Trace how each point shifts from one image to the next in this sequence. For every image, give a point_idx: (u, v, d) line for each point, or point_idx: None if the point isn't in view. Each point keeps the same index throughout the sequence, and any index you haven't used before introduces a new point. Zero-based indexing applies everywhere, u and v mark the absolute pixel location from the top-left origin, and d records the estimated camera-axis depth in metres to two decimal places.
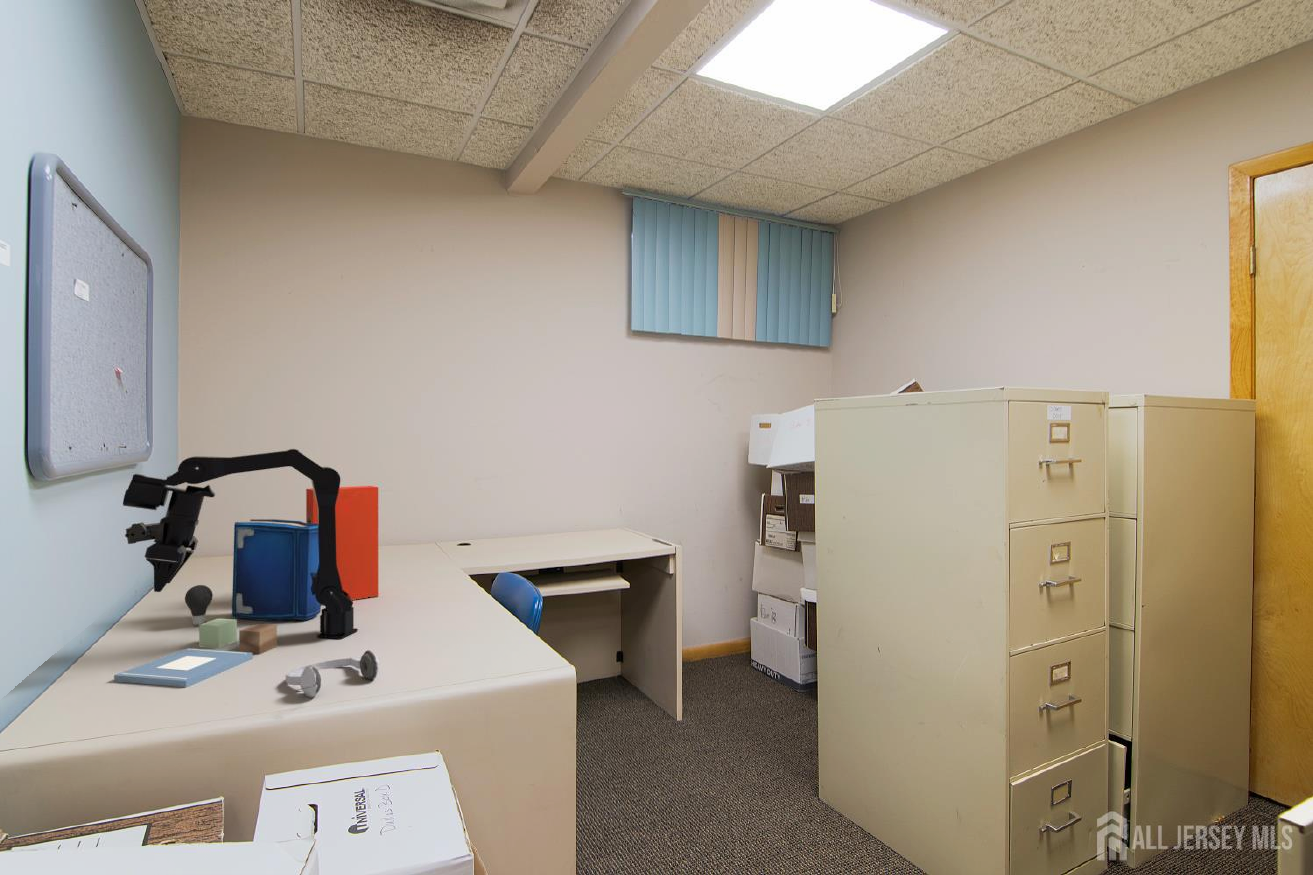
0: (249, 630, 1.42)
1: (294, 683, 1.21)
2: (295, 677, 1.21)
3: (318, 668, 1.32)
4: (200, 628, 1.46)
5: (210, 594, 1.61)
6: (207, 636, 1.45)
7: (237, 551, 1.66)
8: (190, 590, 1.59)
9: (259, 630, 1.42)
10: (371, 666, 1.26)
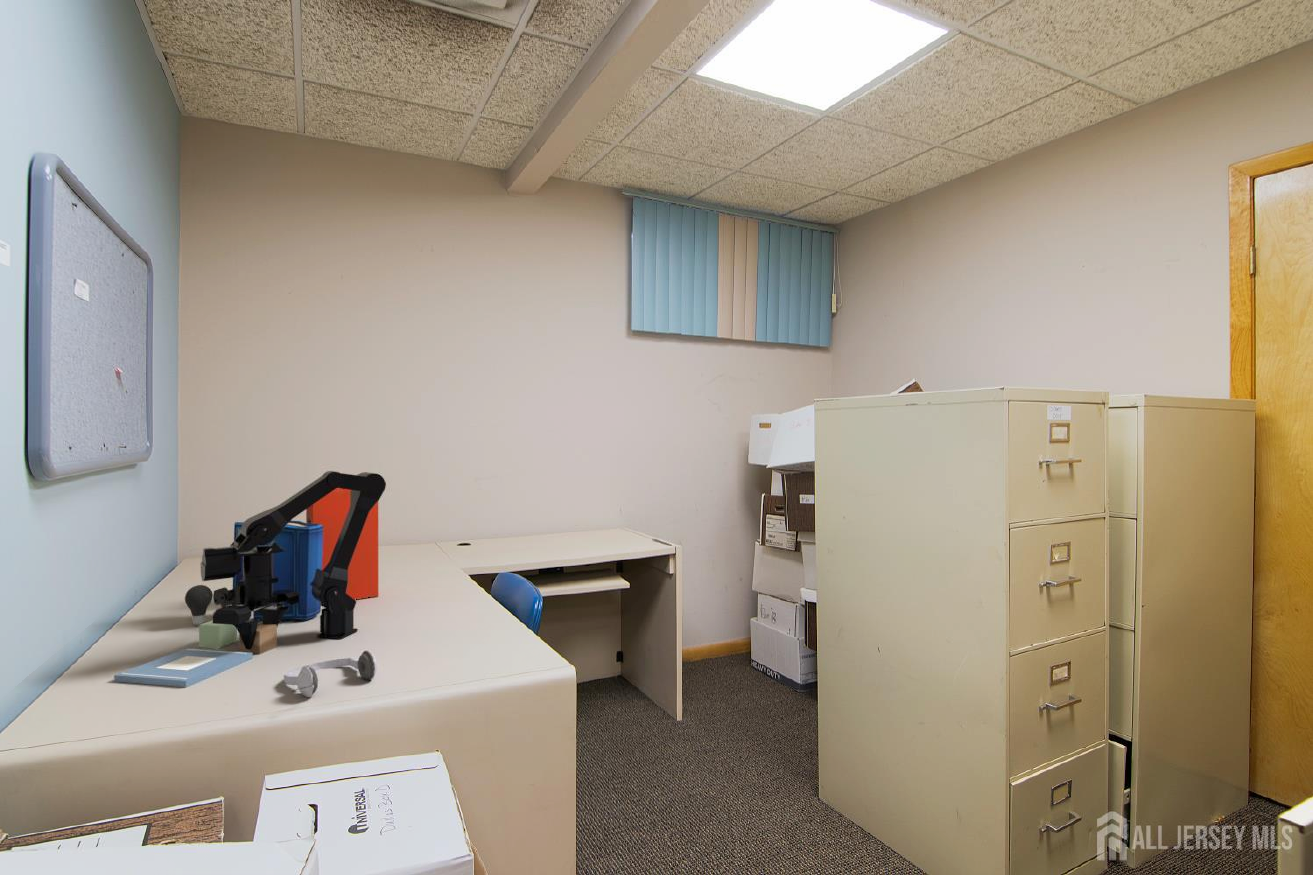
0: None
1: (292, 683, 1.21)
2: (293, 677, 1.21)
3: (317, 668, 1.32)
4: (200, 628, 1.46)
5: (210, 594, 1.61)
6: (207, 636, 1.45)
7: None
8: (190, 590, 1.59)
9: (259, 630, 1.42)
10: (369, 666, 1.25)
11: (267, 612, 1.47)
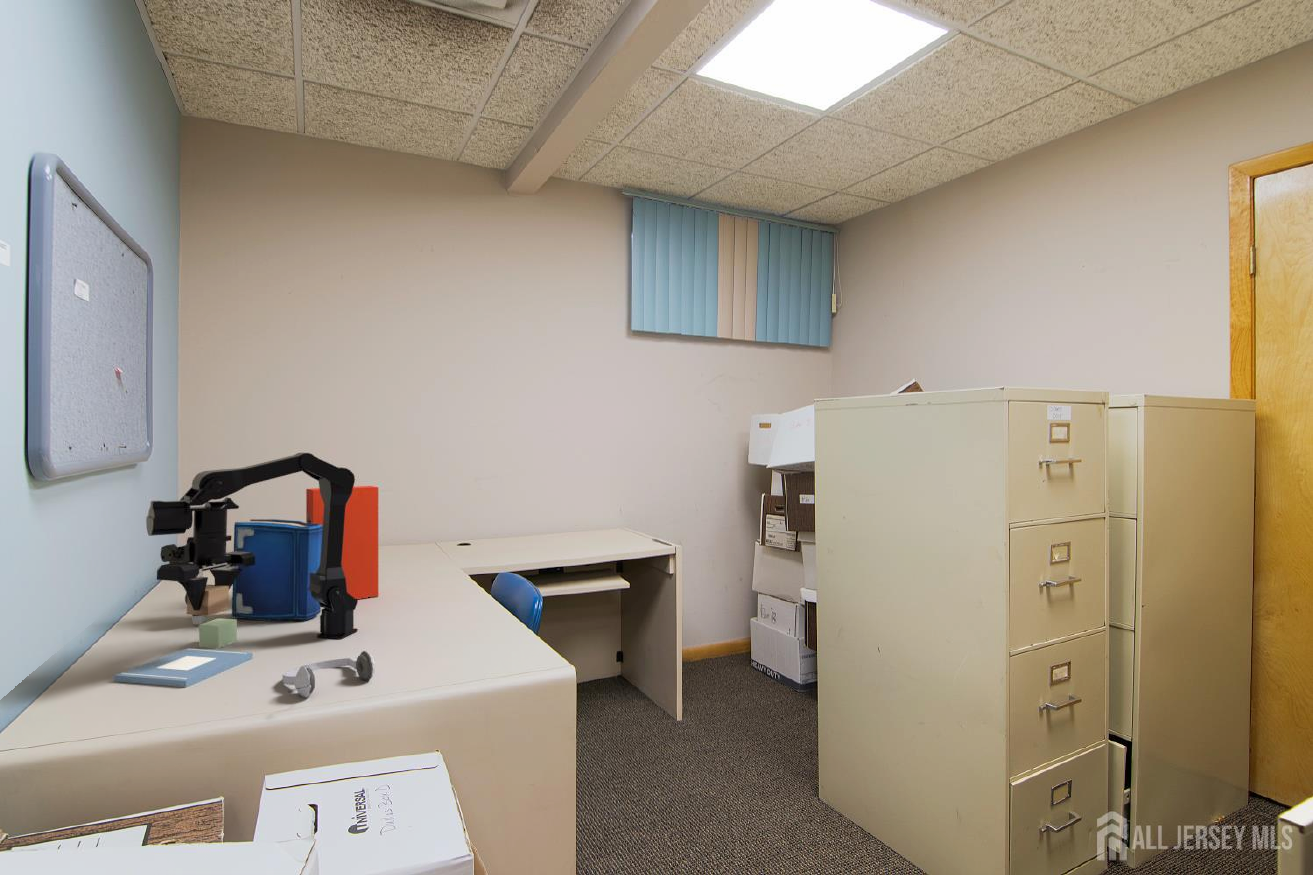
0: None
1: (290, 683, 1.21)
2: (291, 677, 1.21)
3: (316, 668, 1.32)
4: (200, 628, 1.46)
5: None
6: (207, 636, 1.45)
7: None
8: None
9: (208, 590, 1.33)
10: (366, 667, 1.25)
11: (219, 573, 1.38)
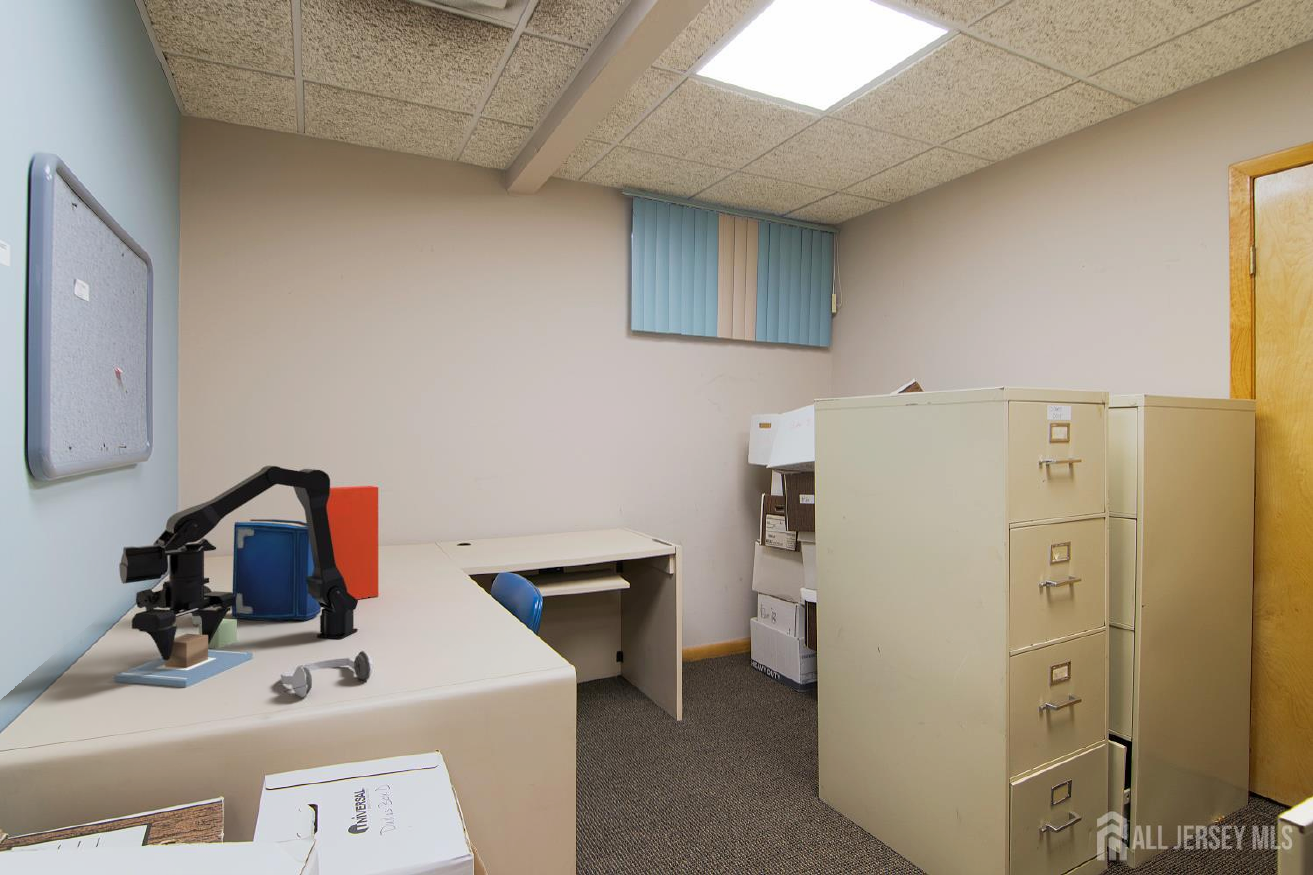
0: (176, 641, 1.30)
1: (287, 682, 1.21)
2: (288, 677, 1.22)
3: (316, 667, 1.32)
4: (200, 628, 1.46)
5: None
6: None
7: (237, 551, 1.66)
8: None
9: (187, 641, 1.30)
10: (364, 667, 1.25)
11: (206, 613, 1.37)
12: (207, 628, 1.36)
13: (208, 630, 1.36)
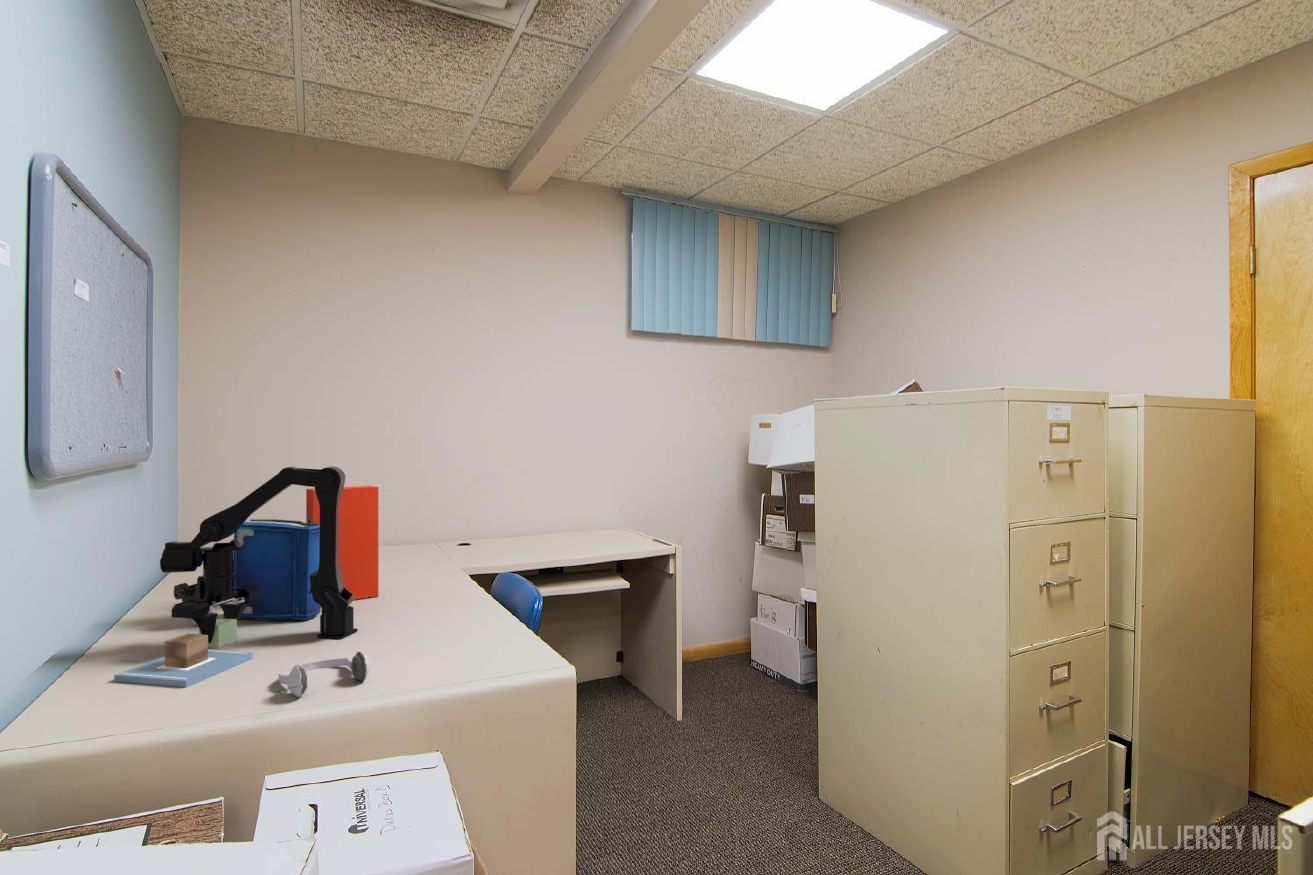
0: (176, 641, 1.30)
1: (284, 682, 1.22)
2: (285, 676, 1.22)
3: (315, 667, 1.32)
4: None
5: None
6: None
7: (237, 551, 1.66)
8: None
9: (187, 641, 1.30)
10: (360, 668, 1.25)
11: (228, 607, 1.51)
12: None
13: None
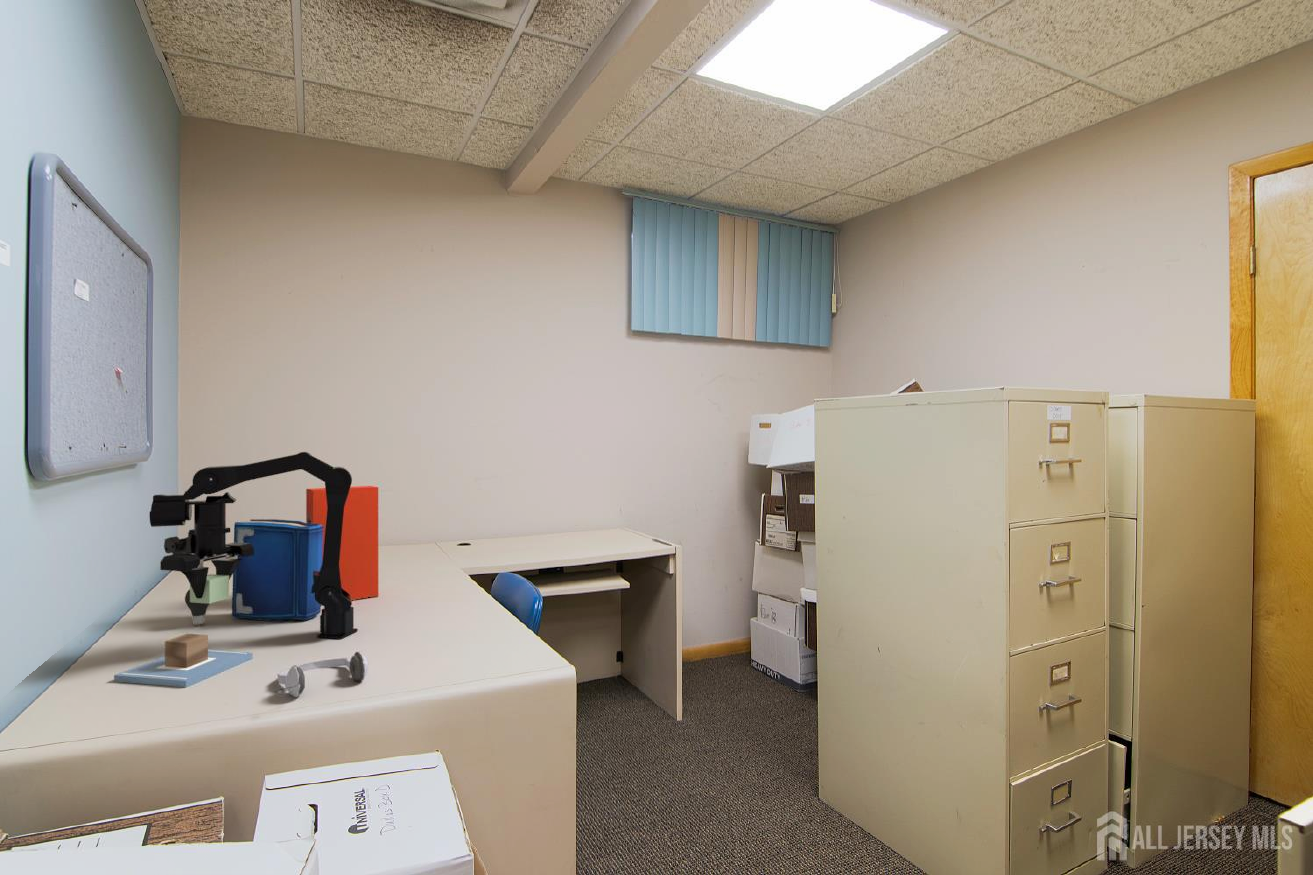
0: (176, 641, 1.30)
1: (282, 682, 1.22)
2: (283, 676, 1.22)
3: (314, 667, 1.32)
4: None
5: None
6: None
7: None
8: None
9: (187, 641, 1.30)
10: (358, 668, 1.25)
11: (220, 563, 1.46)
12: None
13: None
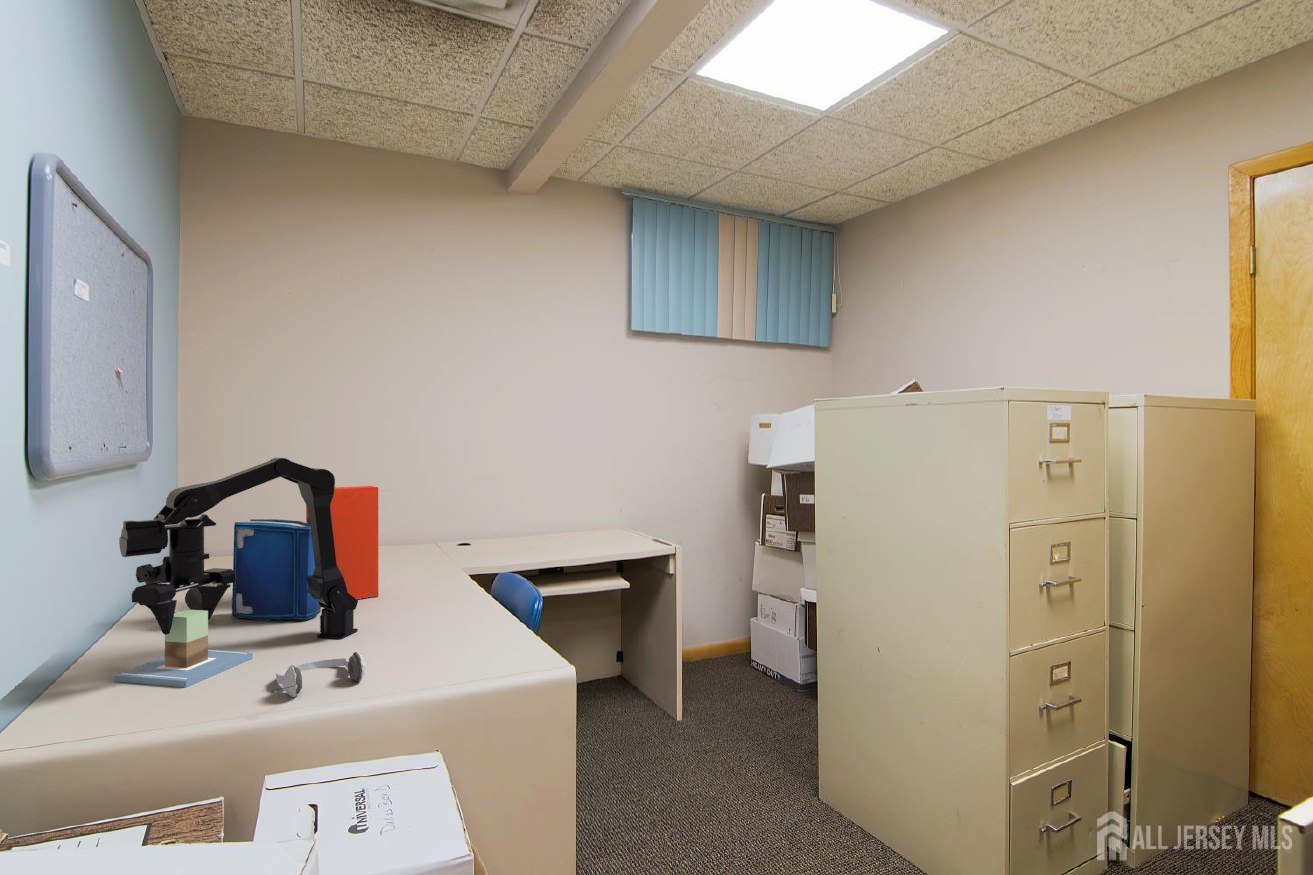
0: None
1: (281, 682, 1.22)
2: (282, 676, 1.22)
3: (314, 667, 1.33)
4: None
5: None
6: (173, 629, 1.29)
7: (237, 551, 1.66)
8: (190, 590, 1.59)
9: None
10: (356, 668, 1.24)
11: (206, 589, 1.37)
12: (207, 604, 1.36)
13: (208, 606, 1.36)
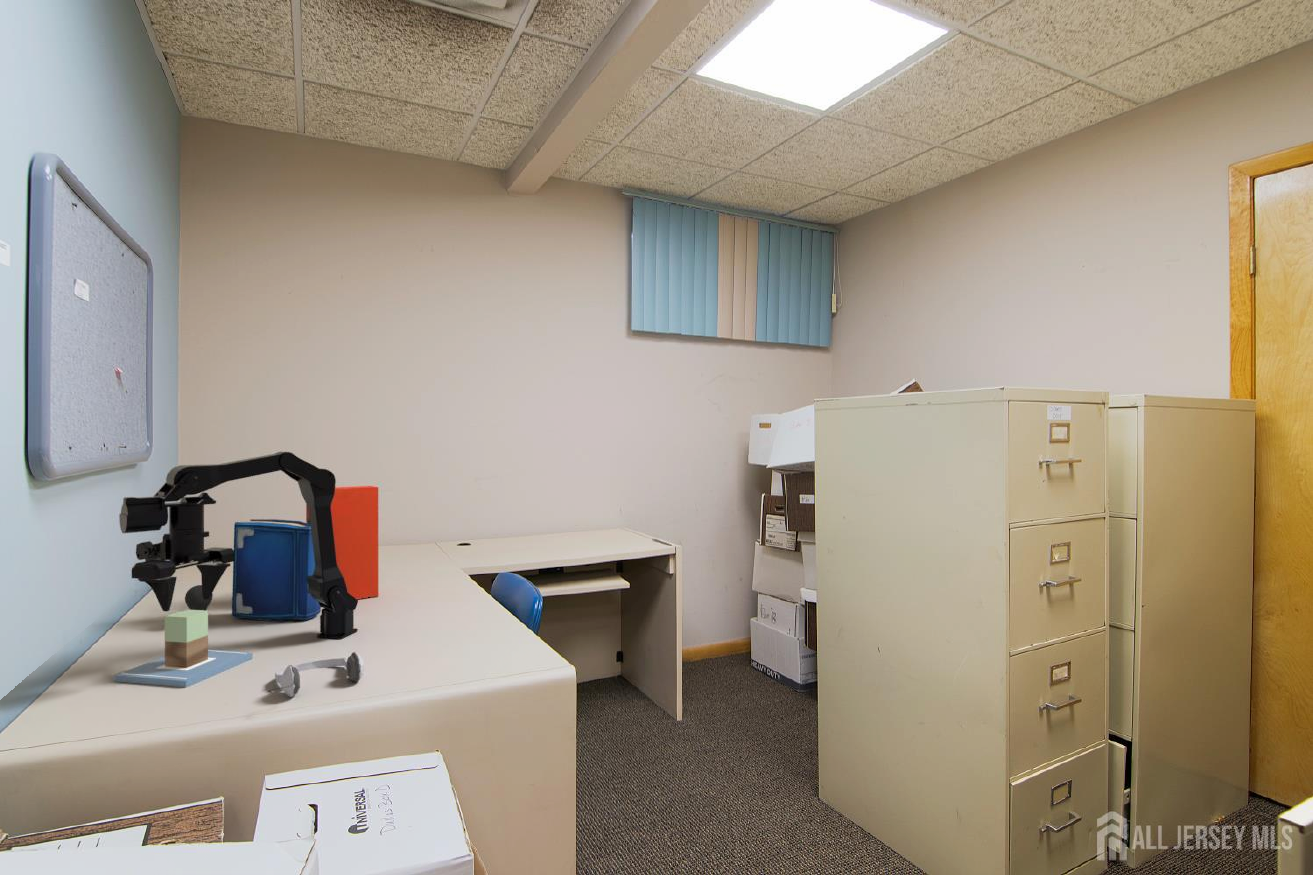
0: None
1: (279, 681, 1.22)
2: (280, 675, 1.22)
3: (313, 666, 1.33)
4: (166, 620, 1.30)
5: None
6: (173, 629, 1.29)
7: (237, 551, 1.66)
8: (190, 590, 1.59)
9: None
10: (354, 668, 1.24)
11: (206, 568, 1.37)
12: (207, 583, 1.36)
13: (208, 585, 1.36)
